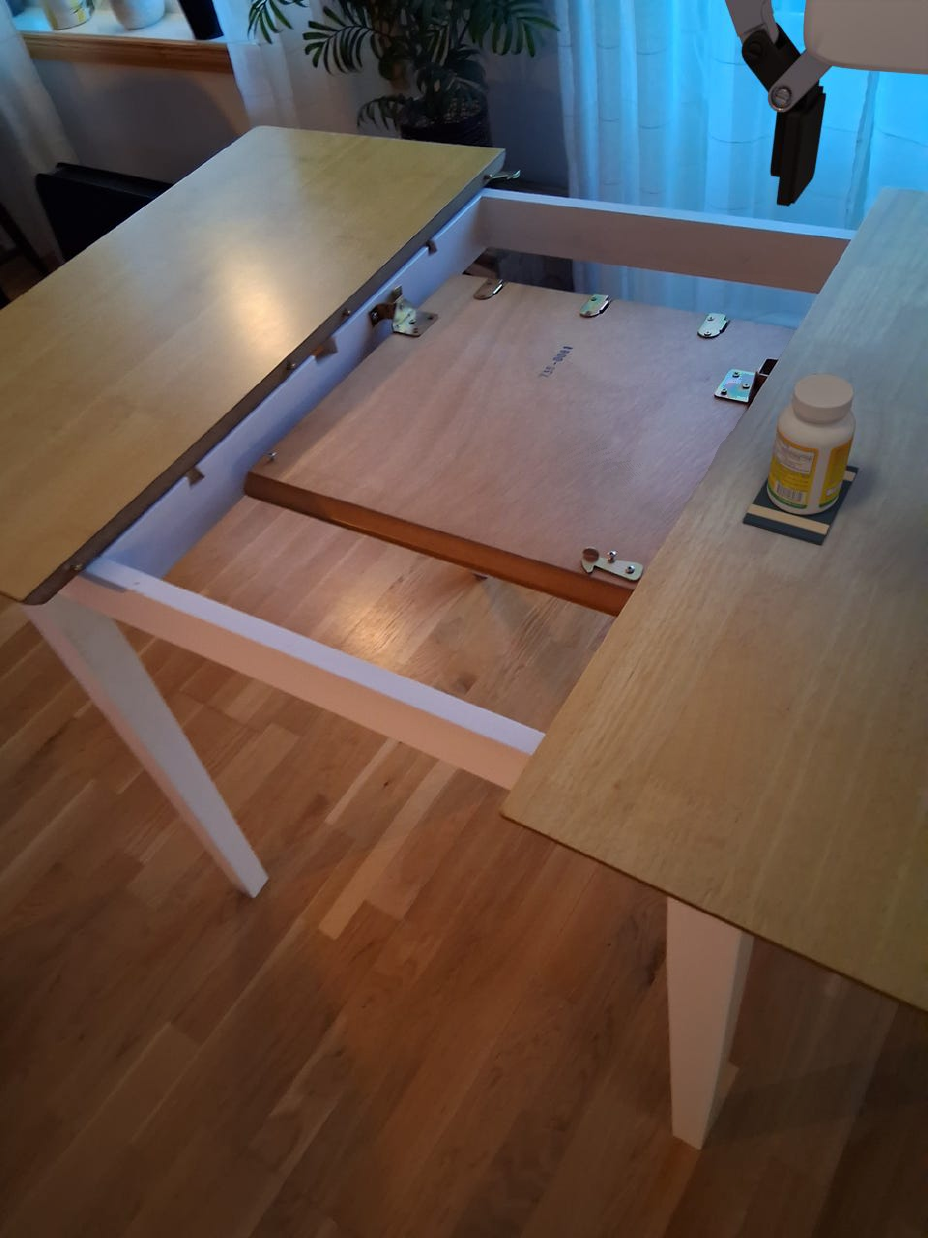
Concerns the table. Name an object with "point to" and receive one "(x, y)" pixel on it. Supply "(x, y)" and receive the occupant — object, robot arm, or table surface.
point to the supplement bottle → (812, 445)
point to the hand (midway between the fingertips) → (904, 206)
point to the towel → (793, 524)
